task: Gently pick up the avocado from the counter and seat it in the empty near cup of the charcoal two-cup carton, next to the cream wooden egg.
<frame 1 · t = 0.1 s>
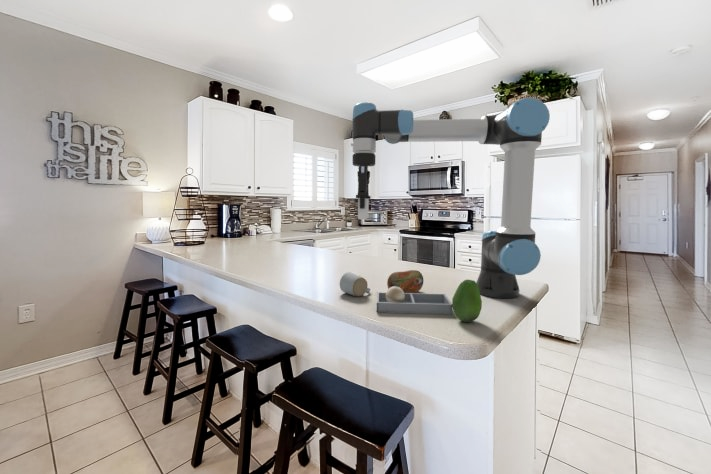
hand: (363, 218, 110), 28 cm above the countertop, tool pointing down, fingers open, 13 cm apart
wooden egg: (395, 295, 105), point 4 cm above the countertop, touching carton
avocado: (465, 321, 93), on the countertop
tin: (405, 293, 122), on the countertop
carton: (412, 307, 105), on the countertop
ceramic mug: (356, 294, 120), on the countertop
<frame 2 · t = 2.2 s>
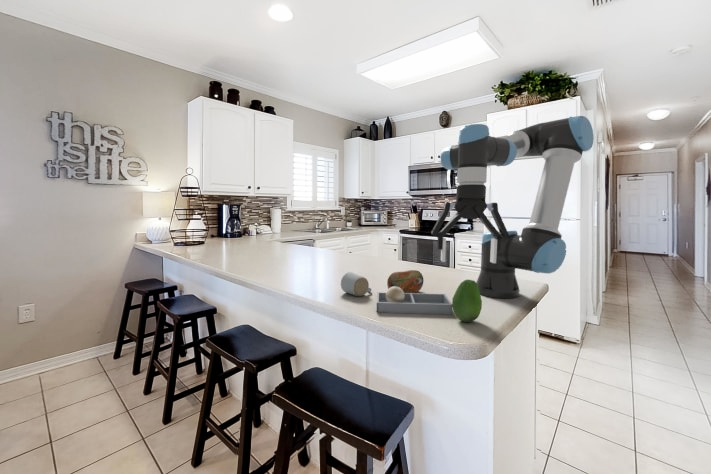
hand: (467, 262, 91), 17 cm above the countertop, tool pointing down, fingers open, 13 cm apart
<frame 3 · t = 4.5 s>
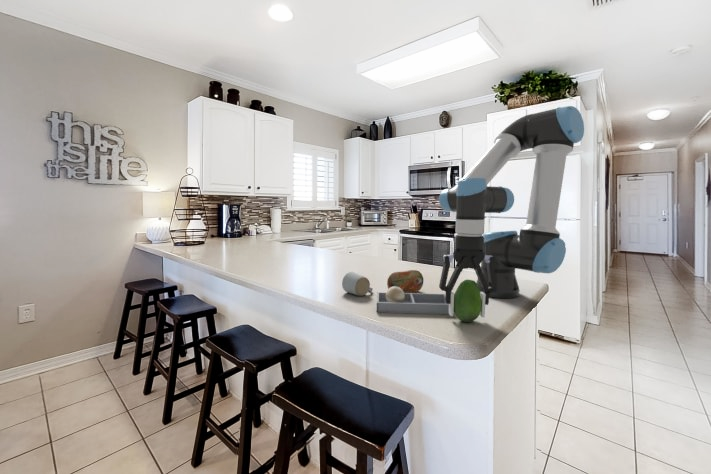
hand: (466, 315, 93), 2 cm above the countertop, tool pointing down, fingers closed on avocado, 8 cm apart
avocado: (465, 321, 93), on the countertop, touching gripper
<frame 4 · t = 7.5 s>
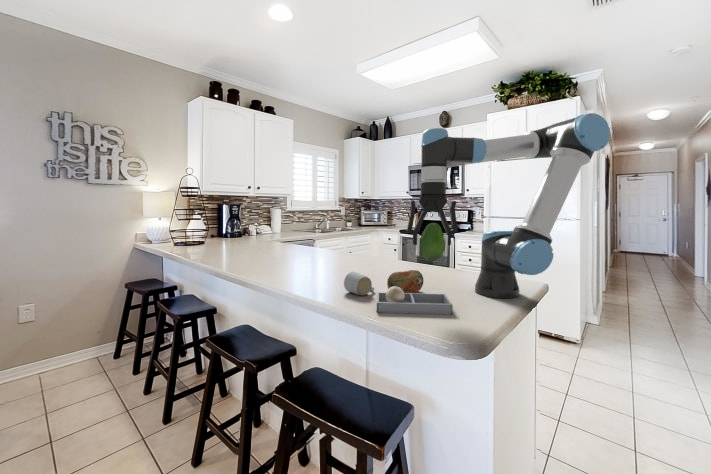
hand: (431, 255, 103), 17 cm above the countertop, tool pointing down, fingers closed on avocado, 8 cm apart
avocado: (430, 261, 103), point 15 cm above the countertop, touching gripper
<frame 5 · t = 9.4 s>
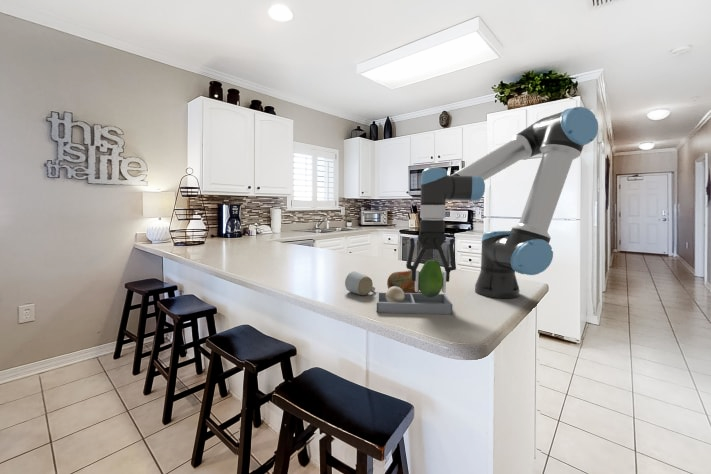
hand: (429, 291, 104), 5 cm above the countertop, tool pointing down, fingers closed on avocado, 8 cm apart
avocado: (429, 297, 104), point 3 cm above the countertop, touching gripper
when the fingers open (4 cm above the countertop, at t = 10.6 s): avocado drops 2 cm, resting on carton.
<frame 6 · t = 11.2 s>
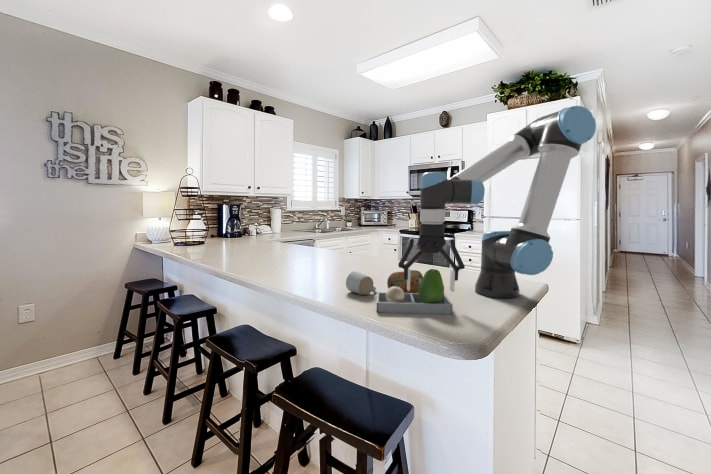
hand: (430, 290, 104), 6 cm above the countertop, tool pointing down, fingers open, 13 cm apart
avocado: (430, 306, 104), resting on carton
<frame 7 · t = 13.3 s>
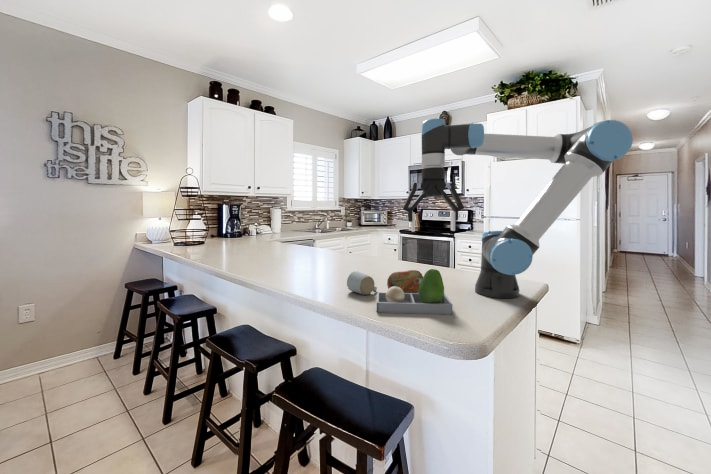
hand: (432, 231, 112), 24 cm above the countertop, tool pointing down, fingers open, 13 cm apart
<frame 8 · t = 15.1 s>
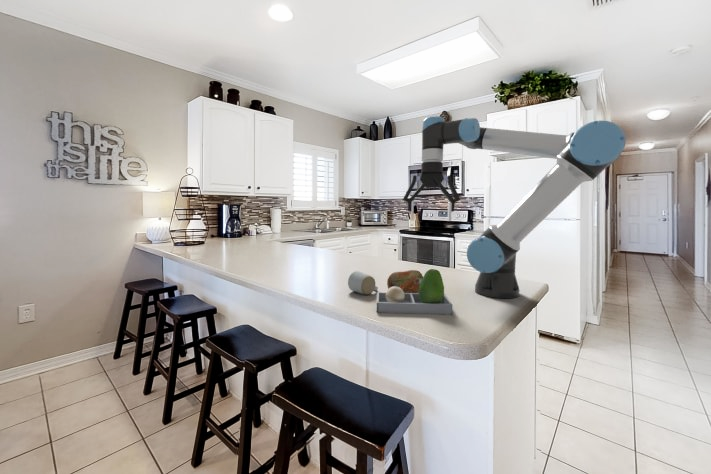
hand: (430, 220, 121), 27 cm above the countertop, tool pointing down, fingers open, 13 cm apart
at the end: avocado 0.3 cm from the target spot on the carton, point 0.4 cm above the carton's base; the gripper is holding nothing; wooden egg moved 0.0 cm from its start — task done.
